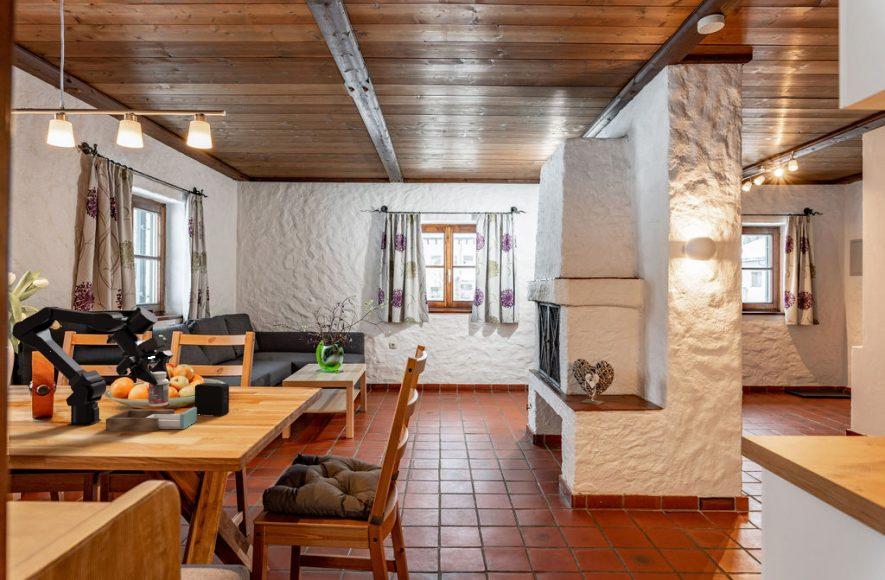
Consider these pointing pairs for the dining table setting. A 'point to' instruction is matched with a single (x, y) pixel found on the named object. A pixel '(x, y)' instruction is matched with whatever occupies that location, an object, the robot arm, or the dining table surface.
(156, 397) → the pill bottle
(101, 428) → the dining table surface
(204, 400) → the electronic device
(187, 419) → the tray
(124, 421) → the dock
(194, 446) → the dining table surface
